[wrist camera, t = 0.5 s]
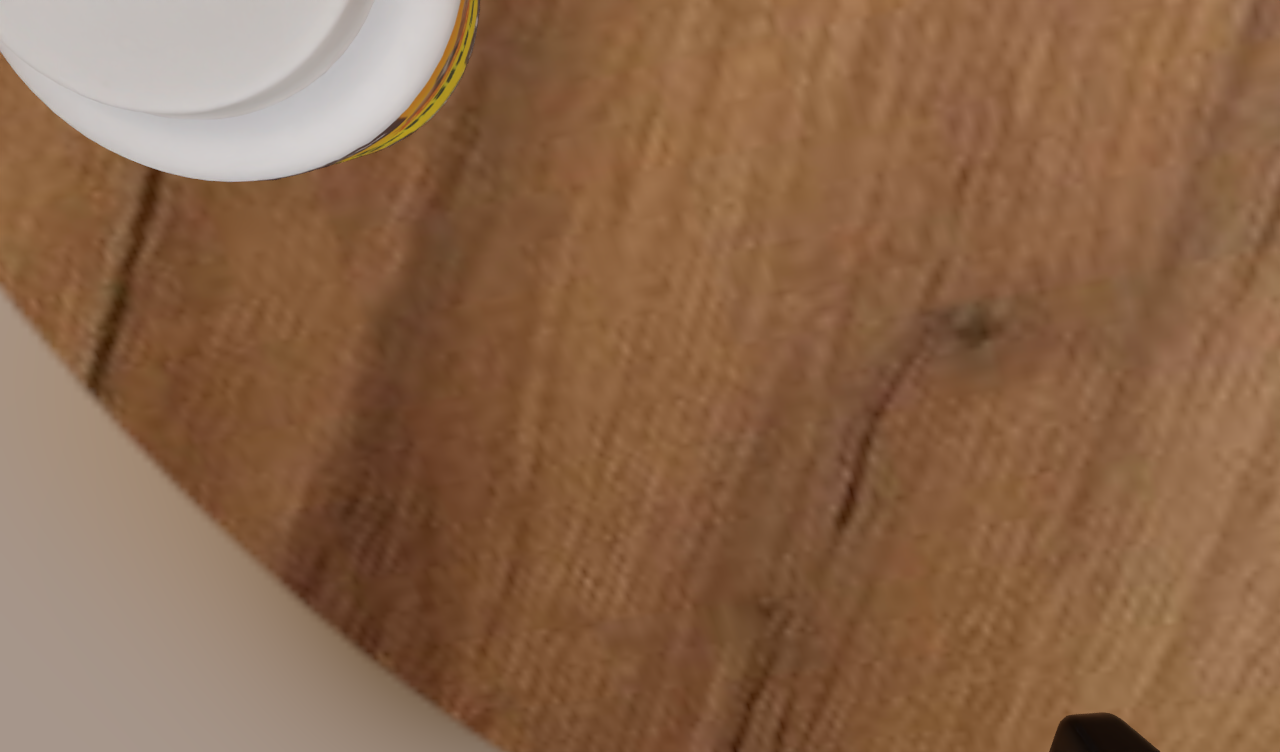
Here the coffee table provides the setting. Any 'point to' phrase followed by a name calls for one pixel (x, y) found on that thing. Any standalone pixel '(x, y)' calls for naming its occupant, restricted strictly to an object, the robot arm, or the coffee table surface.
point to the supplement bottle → (241, 76)
